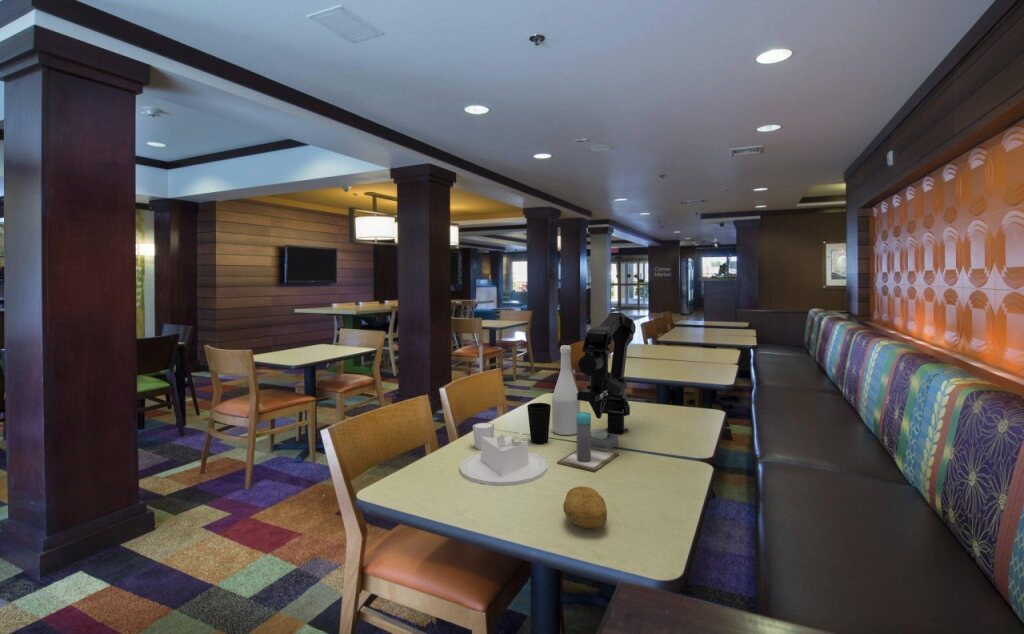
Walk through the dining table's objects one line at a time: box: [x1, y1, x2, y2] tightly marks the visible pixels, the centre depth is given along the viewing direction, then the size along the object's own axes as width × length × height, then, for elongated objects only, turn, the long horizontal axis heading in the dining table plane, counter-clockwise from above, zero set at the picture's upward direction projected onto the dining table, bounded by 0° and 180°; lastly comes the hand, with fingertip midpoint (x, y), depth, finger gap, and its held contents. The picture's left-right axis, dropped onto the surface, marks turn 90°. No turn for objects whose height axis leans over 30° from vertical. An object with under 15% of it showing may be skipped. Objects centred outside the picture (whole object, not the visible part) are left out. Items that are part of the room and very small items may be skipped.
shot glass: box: [472, 422, 495, 450], centre depth 164 cm, size 7×7×7 cm
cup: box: [526, 402, 552, 445], centre depth 168 cm, size 8×8×12 cm
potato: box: [562, 485, 608, 529], centre depth 113 cm, size 9×13×7 cm
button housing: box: [591, 432, 619, 451], centre depth 163 cm, size 9×9×3 cm
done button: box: [591, 428, 608, 440], centre depth 163 cm, size 5×5×4 cm
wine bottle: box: [551, 344, 581, 436], centre depth 177 cm, size 10×10×30 cm
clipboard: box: [556, 446, 620, 473], centre depth 151 cm, size 16×12×1 cm
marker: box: [576, 411, 592, 462], centre depth 148 cm, size 4×4×14 cm
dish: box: [458, 432, 548, 487], centre depth 145 cm, size 25×25×11 cm
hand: (598, 418), depth 162 cm, fingers closed
